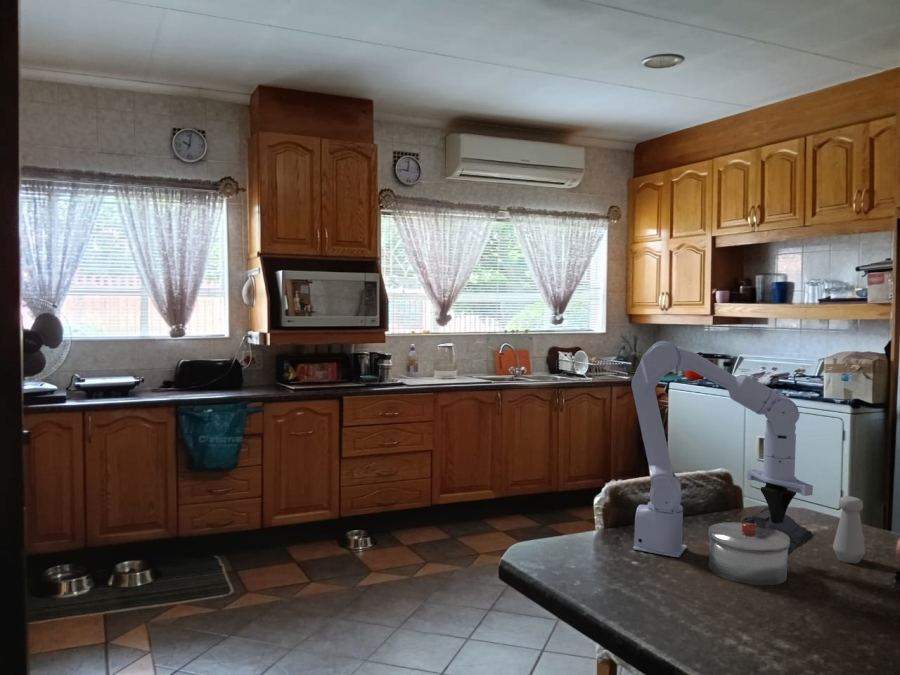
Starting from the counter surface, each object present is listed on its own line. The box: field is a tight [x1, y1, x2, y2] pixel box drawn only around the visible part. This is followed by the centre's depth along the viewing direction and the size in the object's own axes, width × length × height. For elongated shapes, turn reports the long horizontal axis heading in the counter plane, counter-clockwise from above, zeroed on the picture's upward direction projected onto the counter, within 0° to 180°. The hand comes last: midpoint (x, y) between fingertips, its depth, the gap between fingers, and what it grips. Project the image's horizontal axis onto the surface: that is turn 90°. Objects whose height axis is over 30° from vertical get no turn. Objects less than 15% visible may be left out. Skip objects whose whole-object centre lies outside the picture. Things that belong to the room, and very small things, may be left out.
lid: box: [708, 510, 790, 552], centre depth 142 cm, size 20×15×3 cm
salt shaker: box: [832, 495, 866, 564], centre depth 148 cm, size 6×6×13 cm
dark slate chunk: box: [739, 507, 813, 555], centre depth 162 cm, size 15×22×5 cm
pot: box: [708, 537, 789, 586], centre depth 142 cm, size 20×14×6 cm
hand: (777, 522), depth 145 cm, fingers closed
